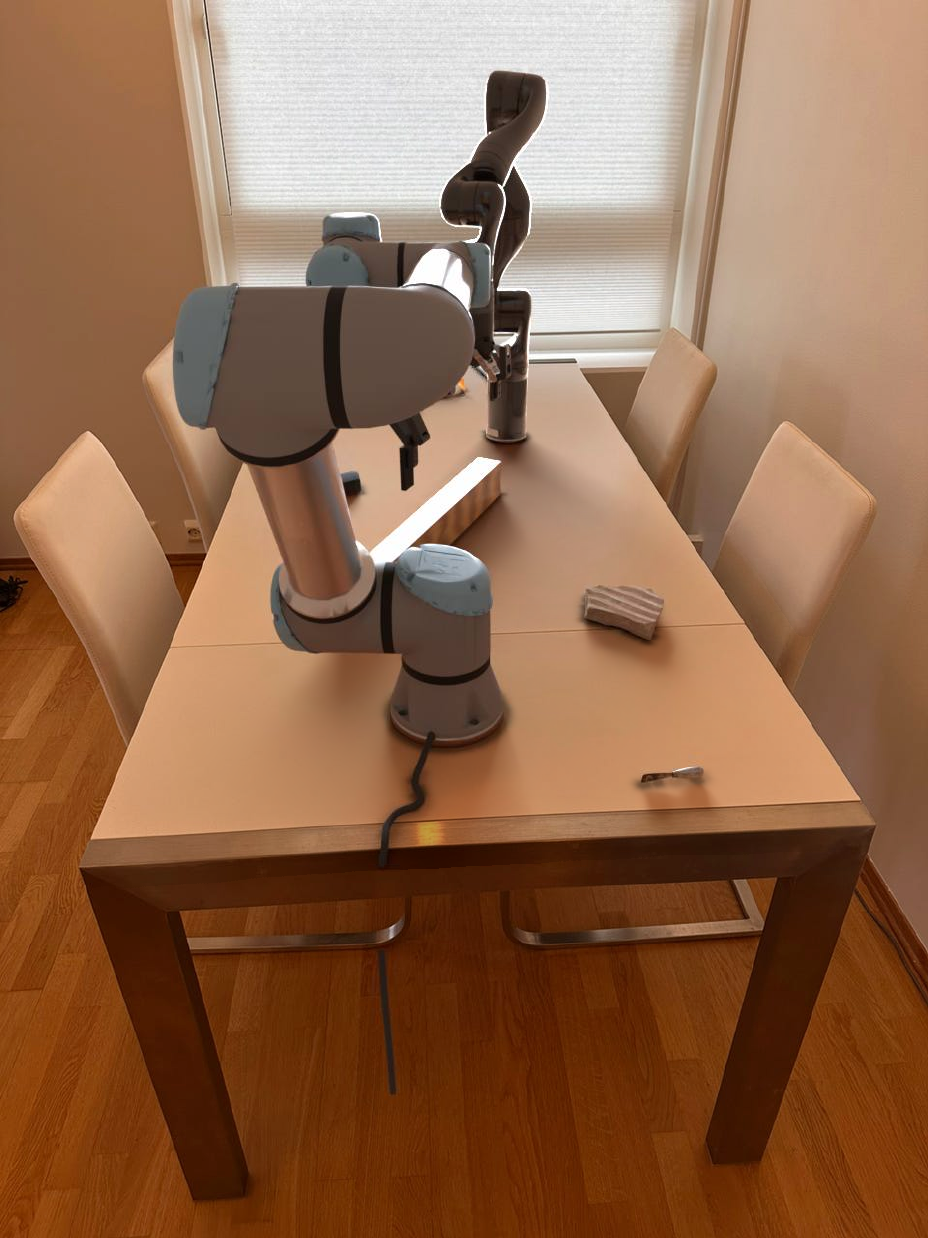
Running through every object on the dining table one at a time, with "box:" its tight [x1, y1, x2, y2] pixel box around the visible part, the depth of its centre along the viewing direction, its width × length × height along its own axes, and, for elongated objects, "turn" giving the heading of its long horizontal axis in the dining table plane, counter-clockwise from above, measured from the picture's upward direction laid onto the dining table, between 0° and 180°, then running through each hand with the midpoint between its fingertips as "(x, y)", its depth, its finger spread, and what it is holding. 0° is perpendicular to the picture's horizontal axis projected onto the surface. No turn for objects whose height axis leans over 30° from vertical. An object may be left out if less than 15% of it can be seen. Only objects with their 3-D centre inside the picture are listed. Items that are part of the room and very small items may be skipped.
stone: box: [583, 584, 665, 641], centre depth 141 cm, size 13×12×3 cm
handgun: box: [340, 470, 362, 496], centre depth 177 cm, size 3×18×12 cm
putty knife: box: [640, 765, 705, 784], centre depth 109 cm, size 1×8×2 cm, turn 103°
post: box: [368, 457, 502, 562], centre depth 160 cm, size 55×5×7 cm, turn 156°
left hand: (367, 480), depth 134 cm, fingers open, 13 cm apart
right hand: (472, 397), depth 164 cm, fingers open, 8 cm apart
